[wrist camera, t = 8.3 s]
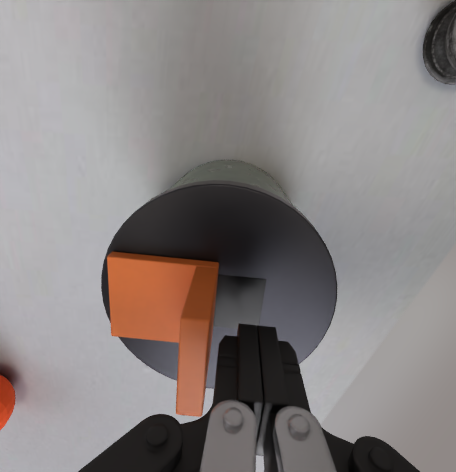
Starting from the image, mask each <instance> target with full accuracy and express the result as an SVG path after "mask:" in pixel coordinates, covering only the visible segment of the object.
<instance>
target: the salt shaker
mask: <svg viewBox="0 0 456 472" xmlns="http://www.w3.org/2000/svg"><path fill="white" fill-rule="evenodd" d="M423 58H424V62H425V66H426V68H427V70H428V72H429V73H430V75H431V76H432V77H434V78H435V79H436V80H437V81H440V82H442V83H445V84H456V1H454V2H452V3H450V4H449V5H448V6H446V7H445V8H444V9H443V10H442V11H441V12H440V13H439V14H438V15H437V17H436V18H435V19H434V20H433V22H432V23H431V25H430V27H429V29H428V31H427V33H426V37H425V41H424V45H423Z"/></svg>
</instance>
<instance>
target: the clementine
mask: <svg viewBox="0 0 456 472" xmlns="http://www.w3.org/2000/svg"><path fill="white" fill-rule="evenodd" d="M14 405H15V391H14V388H13V386H12V385H11V383H10V382H9V380H8V379H7V378H5V377H4V376H2V375H0V430H1V429H2V428H3V427H4V426H5V424H6V423H7V421H8V419H9V418H10V416H11V414H12V412H13V409H14Z"/></svg>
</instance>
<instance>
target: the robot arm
mask: <svg viewBox="0 0 456 472" xmlns="http://www.w3.org/2000/svg"><path fill="white" fill-rule="evenodd" d="M256 455H259V456H264V472H420V471H419V470H417V469H416V468H415V467H414V466H413V465H412V464H411V463H409V462H408V461H407V460H406V459H405V458H404V457H403V456H401V455H400V454H399V453H398V452H397V451H396V450H395V449H393V448H392V447H391V446H390V445H389V444H387V443H385V442H384V441H382V440H380V439H377V438H375V437H370V436H365V437H361V438H359V439H357V441H356V442H355V443H354V444H353V443H350V442H348V441H346V440H343V439H341V438H338V437H336V436H334V435H332V434H330V433H328V432H327V431H325V430H324V429H323V428H322V427H321V425H320V423H319V422H318V420H317V419H316V418H315V416H313V415H312V414H311V411H310V408H309V404H308V400H307V396H306V392H305V388H304V384H303V380H302V376H301V374H300V367H299V365H298V359H297V355H296V351H295V350H294V349H293V347H292V346H291V345H290V344H289V342H287V341H278V337H277V331H276V327H270V326H260V325H257V326H256V325H249V324H240V323H239V324H238V331H237V336H228V335H225V336H224V337H223V339H222V340H221V341H220V343H219V347H218V357H217V366H216V376H215V387H214V397H213V404H212V407H211V408H210V410H209V411H208V413H207V414H205V415H204V416H203V417H202V418H200V419H198V420H195V421H192V422H188V423H184V424H180V423H179V422H178V421H177V420H176V419H175V418H173V417H172V416H169V415H165V414H157V415H152V416H150V417H148V418H146V419H144V420H143V421H141V422H140V423H139V424H138V425H136V426H135V427H134V428H133V429H131V430H130V431H129V432H128V433H126V434H125V435H124V436H123V437H121V438H120V439H119V440H117V441H116V442H115V443H114V444H112V445H111V446H110V447H109V448H107V449H106V450H105V451H104V452H102V453H101V454H100V455H99V456H97V457H96V458H95V459H93V460H92V461H91V462H90V463H88V464H87V465H86V466H85V467H83V468H82V469H81V470H80V471H78V472H255V470H256Z"/></svg>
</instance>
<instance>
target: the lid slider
mask: <svg viewBox="0 0 456 472" xmlns="http://www.w3.org/2000/svg"><path fill="white" fill-rule="evenodd" d="M107 266H108V283H109V301H110V318H111V335H112V336H118V337H128V338H138V339H147V340H157V341H167V342H177V343H179V353H178V375H177V398H176V414H179V415H189V416H199V417H200V416H202V412H203V404H204V397H205V389H206V381H207V373H208V365H209V358H210V350H211V342H212V333H213V322H214V312H215V301H216V290H217V280H218V269H219V263H218V262H210V261H200V260H191V259H181V258H171V257H161V256H151V255H142V254H132V253H122V252H111V253H110V254H109V255H108V256H107Z"/></svg>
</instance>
